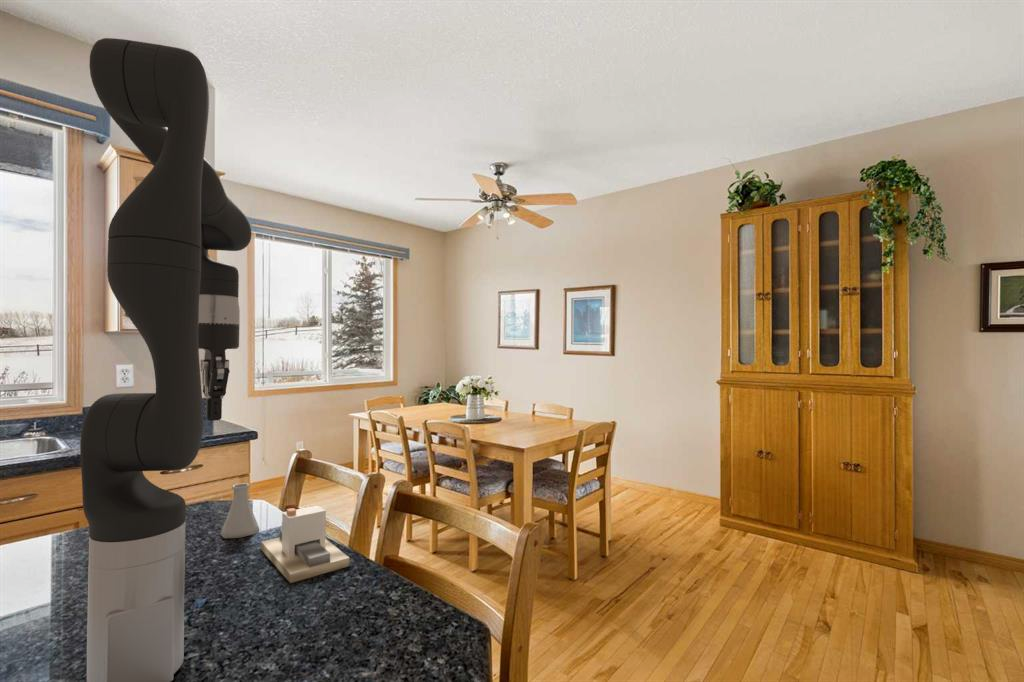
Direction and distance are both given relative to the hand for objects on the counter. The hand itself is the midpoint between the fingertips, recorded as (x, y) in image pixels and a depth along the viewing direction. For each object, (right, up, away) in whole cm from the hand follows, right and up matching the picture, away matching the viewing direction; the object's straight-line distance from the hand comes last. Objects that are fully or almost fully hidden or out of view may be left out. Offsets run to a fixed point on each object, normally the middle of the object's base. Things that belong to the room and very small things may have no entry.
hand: (213, 419), depth 88 cm
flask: (-4, -26, +16) cm, 31 cm away
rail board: (+14, -26, +4) cm, 30 cm away
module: (+14, -25, +4) cm, 29 cm away
